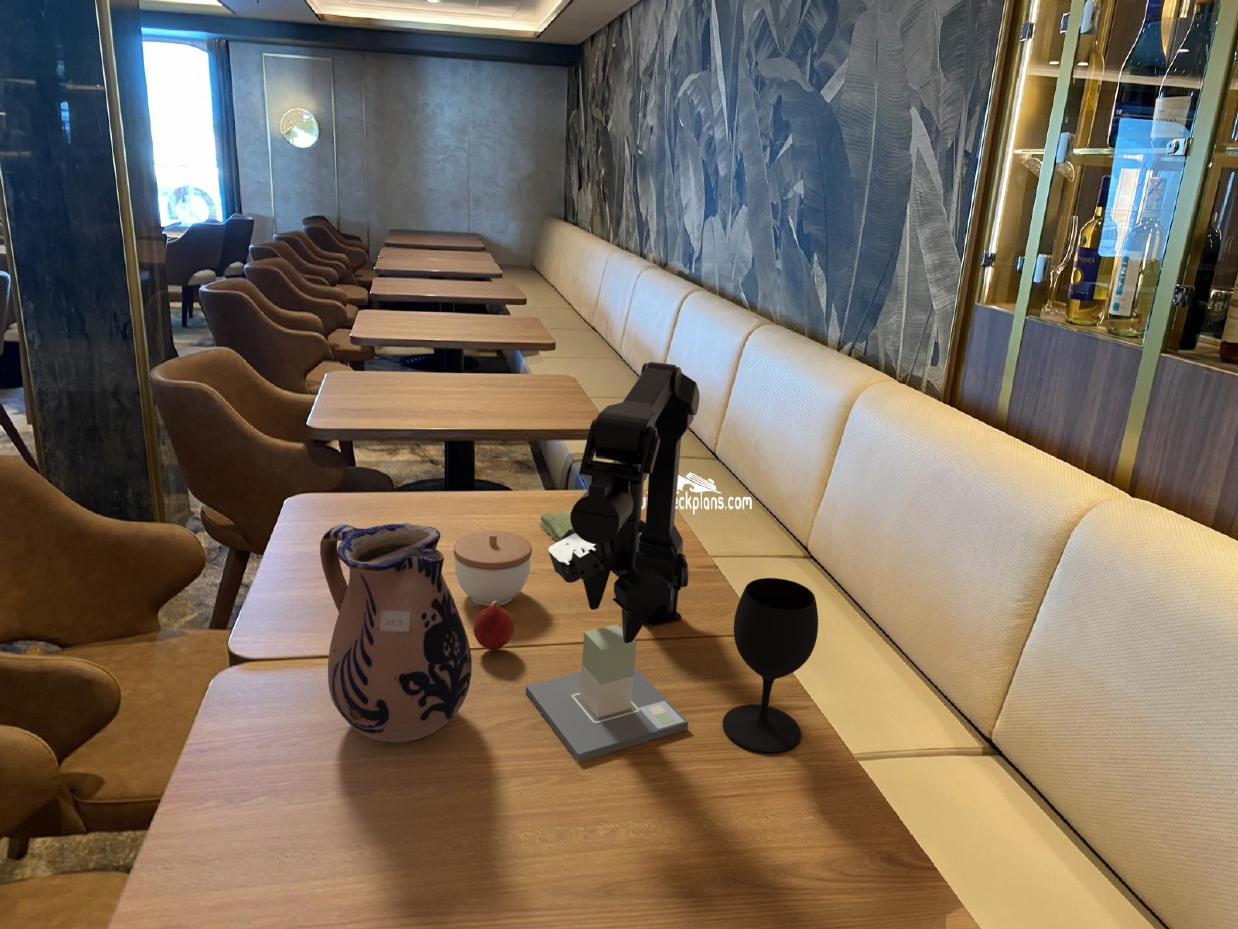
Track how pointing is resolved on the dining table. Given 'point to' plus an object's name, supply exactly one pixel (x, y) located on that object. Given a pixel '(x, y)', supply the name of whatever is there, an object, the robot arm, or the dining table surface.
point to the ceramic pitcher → (394, 632)
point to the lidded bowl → (492, 565)
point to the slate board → (604, 717)
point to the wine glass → (771, 658)
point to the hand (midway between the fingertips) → (610, 625)
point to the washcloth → (556, 524)
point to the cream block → (605, 694)
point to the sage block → (608, 654)
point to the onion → (493, 627)
